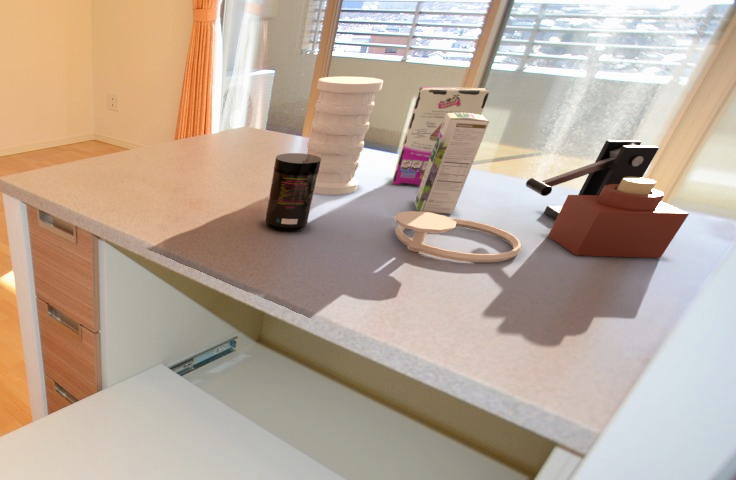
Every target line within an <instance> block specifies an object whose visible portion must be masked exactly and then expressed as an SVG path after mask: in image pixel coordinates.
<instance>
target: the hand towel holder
mask: <svg viewBox="0 0 736 480" xmlns="http://www.w3.org/2000/svg"><path fill="white" fill-rule="evenodd" d="M394 220H395V222H396V223H397V224H398V226H396V229H395V234H396V237H397V240H399V241H400V243H402V244H403V245H405V246H406V247H407V248H408V250H409V251H410V252H414V253H419V252H420V253H423V254H425V255H429V256H433V257H436V258H441V259H445V260H452V261H457V262H467V263H498V262H506V261H508V260H511V259H513V258H514V257H516V256H517V255H518V254H520V253H521V252H522V242H521V241H520V239H519V238H518V237H517V236H516V235H514V234H512V233H510V232H509V231H507V230H504V229H501V228H499V227H496V226H493V225H490V224H486V223H484V222H483V223H482V222H478V221H473V220H469V219H463V218H462V219H460V218H453V217H449V216H447V215H443V214H440V213H433V212H420V211H417V210H408V211H404V212H403V211H402V212H397V213H396V214H395V216H394ZM456 227H458V228H464V229H469V230H473V231H478V232H482V233H485V234H487V235H491V236H494V237H496V238H498V239H501V240H503V241H505V242H506V243H508V244H510V245H511V247H512V249H511V250H508V251H505V252H498V253H470V252H461V251H455V250H448V249H444V248H440V247H435V246H432V245H429V244H426V243H424V241H425V238H426V236H427V233H432V234H439V233H447V232H451V231H452V230H453V229H455V228H456ZM405 229H408V230H412V231H414V234H413V237H410V236H408V235H407V234H406V233H405V232H404V230H405Z"/></svg>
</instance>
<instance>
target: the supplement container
mask: <svg viewBox="0 0 736 480" xmlns="http://www.w3.org/2000/svg"><path fill="white" fill-rule="evenodd" d="M320 163H321V158H320V157H318V156H315V155H310V154H307V153H299V152H298V153H297V152H291V153H290V152H287V153H281V154H277V155H276V156H275V161H274V167H273V173H272V178H271V186H270V190H269V196H268V201H267V208H266V213H265V220H264V222H265V225H266V227H267V228H269V229H270V230H273V231H275V232H281V233H296V232H299V231H302V230H304V228H306V227H307V225H308V222H309V216H310V213H311V212H310V211H311V208H312V202H313V198H314V194H315V193H314V189H315V185H316V180H317V176H318V172H319V168H320Z"/></svg>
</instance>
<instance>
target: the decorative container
mask: <svg viewBox="0 0 736 480" xmlns="http://www.w3.org/2000/svg"><path fill="white" fill-rule="evenodd" d="M383 84H384V80H383V79H381V78H377V77H369V76H367V77H366V76H347V75H345V76H342V75H341V76H325V77H320V78H318V81H317V85H316V89H318V90H320V91H319V95H318V100H316V103H315V104H314V111H315V113H314V119H312V121H311V123H310V124H311V125H310V130H311V133H310V137H309V138H308V141H307V146H306V147H307V152H306V154H310V155H315V156H318V157H320V158H321V163H320V168H319V172H318V176H317V180H316V185H315V189H314V194H319V195H333V196H334V195H347V194H351V193H354V192H356V190H357V189H358V185H359V180H358V179H357V178H355V175H356V171H357V170H358V168H359V166H360V155H361V152H362V151H363V149H364V147H365V141H364V140H365V136H366V134H367V132H368V131H369V128H370V117H371V114H372V113H373V112H374V110H375V105H376V104H375V99H376V94H377V92H379V91H381V90H382V88H383Z"/></svg>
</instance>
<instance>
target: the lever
mask: <svg viewBox="0 0 736 480" xmlns="http://www.w3.org/2000/svg"><path fill="white" fill-rule="evenodd" d="M627 146H639V145H636V144H633V143H632V144H629V145H627ZM621 148H622V147H621ZM621 148H618V149H615V150H612V151H610V158H607V159H604V160H601V161H598V162H596V163H595V162H593V163H590V164H587V165H584V166H581V167H579V168H576V169H573V170H570V171H567V172H564V173H561V174H558V175H555V176H552V177H549V178H547V179H544V180H539V179H537V178H536V177H531V178H529V179H527V180H526V182H525V187H527V188H528V189H530V190H532V191H533V192H535V193H537V194H539V195H541V196H543V197H546V196H549V195H550V194H551V193H552V191H553V187H555V186H558V185H561V184H564V183H566V182H570V181H572V180H575V179H578V178H581V177H584V176H586V175H587V176H588V175H589V174H590V173H593V172H596V171H599V170H601V169H604V168H607V167H611V166H612V164H613V162H614V161H615V159H616V157H617V155H618V153H619V151H620V149H621Z"/></svg>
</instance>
